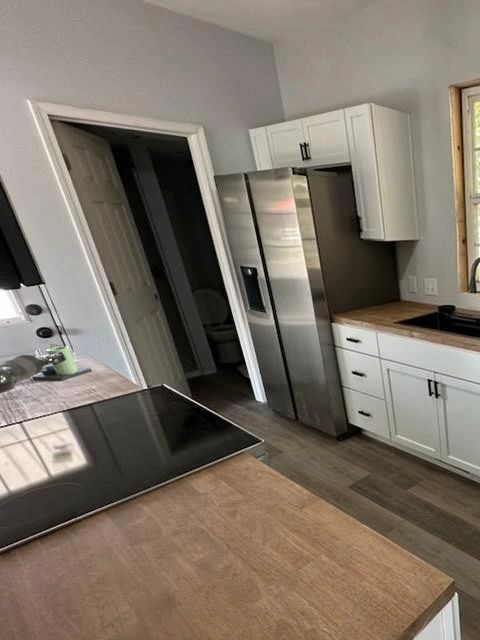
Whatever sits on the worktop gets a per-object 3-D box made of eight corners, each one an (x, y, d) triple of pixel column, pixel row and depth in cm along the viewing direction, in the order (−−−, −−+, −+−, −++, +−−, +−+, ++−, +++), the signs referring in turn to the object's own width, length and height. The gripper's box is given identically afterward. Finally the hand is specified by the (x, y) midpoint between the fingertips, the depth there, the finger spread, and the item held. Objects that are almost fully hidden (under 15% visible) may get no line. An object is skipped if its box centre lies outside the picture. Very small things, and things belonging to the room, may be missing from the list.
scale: (32, 380, 161) (29, 373, 160) (63, 370, 171) (60, 364, 170) (62, 380, 160) (59, 373, 158) (92, 371, 170) (89, 364, 169)
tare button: (45, 370, 164) (43, 366, 163) (53, 368, 166) (51, 364, 166) (51, 370, 163) (49, 366, 163) (59, 368, 166) (57, 364, 165)
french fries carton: (65, 369, 173) (54, 344, 169) (55, 370, 172) (44, 345, 168) (69, 363, 180) (59, 340, 176) (60, 365, 178) (49, 341, 175)
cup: (53, 376, 161) (42, 351, 157) (62, 371, 166) (51, 347, 162) (73, 373, 163) (63, 349, 159) (81, 369, 168) (71, 345, 165)
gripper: (43, 355, 142) (67, 344, 156) (-14, 361, 136) (16, 348, 150) (52, 375, 145) (75, 362, 158) (-4, 382, 139) (25, 368, 153)
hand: (46, 356), depth 154 cm, fingers open, 8 cm apart
